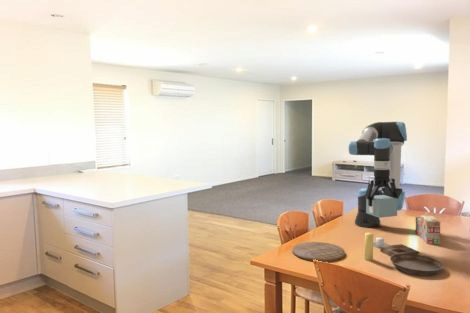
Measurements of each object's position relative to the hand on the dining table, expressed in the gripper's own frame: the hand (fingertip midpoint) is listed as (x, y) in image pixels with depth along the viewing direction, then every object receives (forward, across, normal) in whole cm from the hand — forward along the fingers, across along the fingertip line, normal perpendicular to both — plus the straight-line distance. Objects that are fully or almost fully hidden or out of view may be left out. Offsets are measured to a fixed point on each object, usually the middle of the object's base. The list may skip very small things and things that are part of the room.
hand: (381, 211), depth 191 cm
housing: (+2, 0, 0) cm, 2 cm away
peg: (+17, -18, -16) cm, 30 cm away
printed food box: (+18, +31, +3) cm, 36 cm away
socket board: (+17, 0, -14) cm, 23 cm away
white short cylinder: (+18, 0, 0) cm, 18 cm away
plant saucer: (+18, -5, -31) cm, 36 cm away
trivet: (+18, -36, -2) cm, 41 cm away
